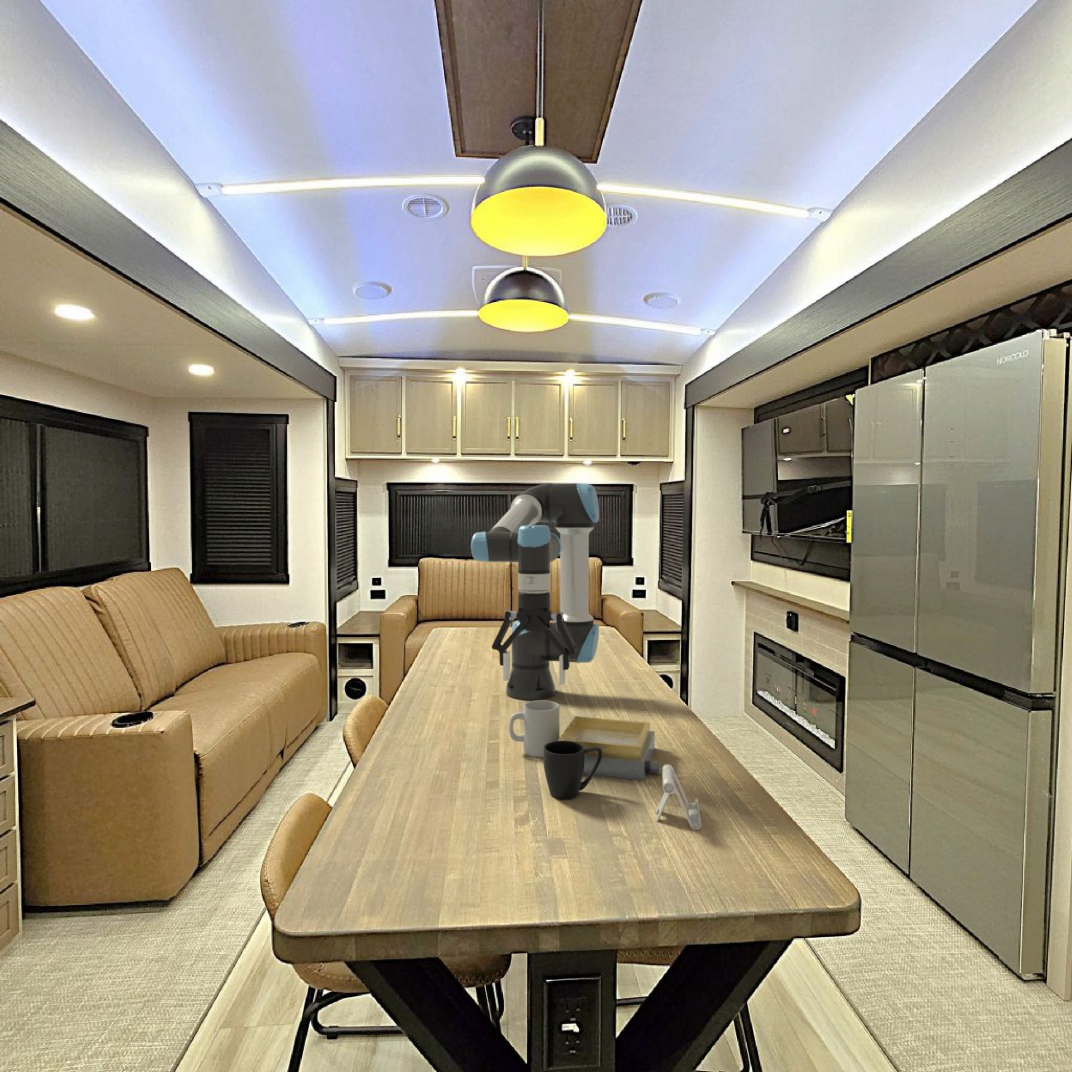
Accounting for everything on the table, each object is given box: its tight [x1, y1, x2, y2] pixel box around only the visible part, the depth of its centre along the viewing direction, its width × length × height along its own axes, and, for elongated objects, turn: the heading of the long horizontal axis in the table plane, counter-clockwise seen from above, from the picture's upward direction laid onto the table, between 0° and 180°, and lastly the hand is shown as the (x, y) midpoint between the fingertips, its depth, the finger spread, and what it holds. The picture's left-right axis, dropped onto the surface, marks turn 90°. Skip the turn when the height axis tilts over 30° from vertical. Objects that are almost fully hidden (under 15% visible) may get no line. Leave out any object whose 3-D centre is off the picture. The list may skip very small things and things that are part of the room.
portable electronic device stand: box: [655, 764, 702, 831], centre depth 123 cm, size 9×8×8 cm
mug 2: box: [542, 741, 602, 801], centre depth 134 cm, size 8×12×10 cm
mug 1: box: [508, 699, 561, 759], centre depth 157 cm, size 12×8×11 cm
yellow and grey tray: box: [558, 715, 661, 782], centre depth 152 cm, size 23×20×6 cm
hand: (534, 681), depth 156 cm, fingers open, 13 cm apart
